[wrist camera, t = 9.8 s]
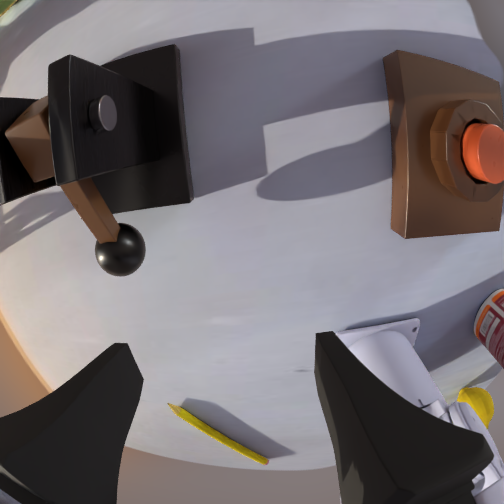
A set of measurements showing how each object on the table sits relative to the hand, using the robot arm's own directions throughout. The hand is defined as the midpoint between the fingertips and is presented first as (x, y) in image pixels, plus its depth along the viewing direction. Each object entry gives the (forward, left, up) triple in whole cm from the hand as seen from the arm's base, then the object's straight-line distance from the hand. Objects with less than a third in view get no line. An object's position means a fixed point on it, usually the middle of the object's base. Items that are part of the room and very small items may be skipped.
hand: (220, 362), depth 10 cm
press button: (+7, -16, -6) cm, 19 cm away
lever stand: (+9, +6, -10) cm, 15 cm away
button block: (+7, -16, -10) cm, 20 cm away
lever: (+7, +6, -5) cm, 10 cm away
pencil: (-21, +3, -9) cm, 23 cm away
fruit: (-22, -27, -10) cm, 36 cm away
